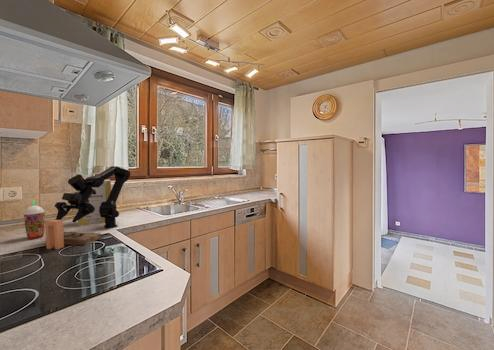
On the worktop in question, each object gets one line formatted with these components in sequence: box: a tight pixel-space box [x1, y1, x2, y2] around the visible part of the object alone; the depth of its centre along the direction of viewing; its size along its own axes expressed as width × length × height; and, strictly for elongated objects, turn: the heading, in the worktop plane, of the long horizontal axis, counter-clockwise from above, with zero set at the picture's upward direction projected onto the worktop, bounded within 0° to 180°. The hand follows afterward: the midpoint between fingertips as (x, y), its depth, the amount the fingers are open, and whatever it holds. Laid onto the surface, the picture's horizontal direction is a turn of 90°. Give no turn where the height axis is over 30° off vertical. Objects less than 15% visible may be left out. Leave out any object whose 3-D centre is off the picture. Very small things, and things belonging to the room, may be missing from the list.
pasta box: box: [76, 179, 112, 227], centre depth 150 cm, size 18×10×28 cm, turn 125°
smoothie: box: [23, 199, 46, 240], centre depth 119 cm, size 8×8×20 cm
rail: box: [63, 231, 102, 246], centre depth 115 cm, size 10×22×2 cm, turn 82°
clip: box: [44, 219, 65, 250], centre depth 105 cm, size 3×6×13 cm, turn 82°
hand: (64, 221), depth 110 cm, fingers open, 9 cm apart
